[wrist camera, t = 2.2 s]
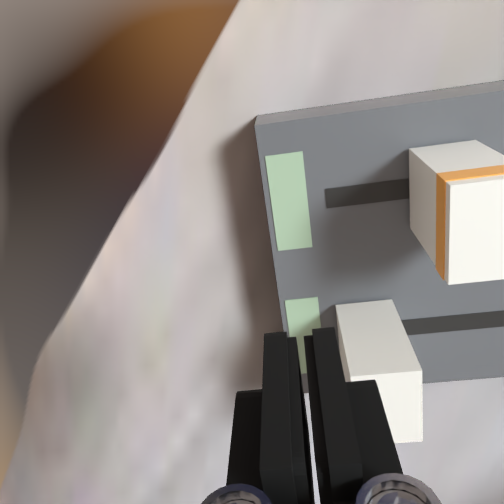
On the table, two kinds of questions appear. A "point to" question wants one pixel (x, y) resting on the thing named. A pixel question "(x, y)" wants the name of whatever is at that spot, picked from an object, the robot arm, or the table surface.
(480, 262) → the block
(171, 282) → the table surface
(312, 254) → the breaker panel
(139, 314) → the table surface
